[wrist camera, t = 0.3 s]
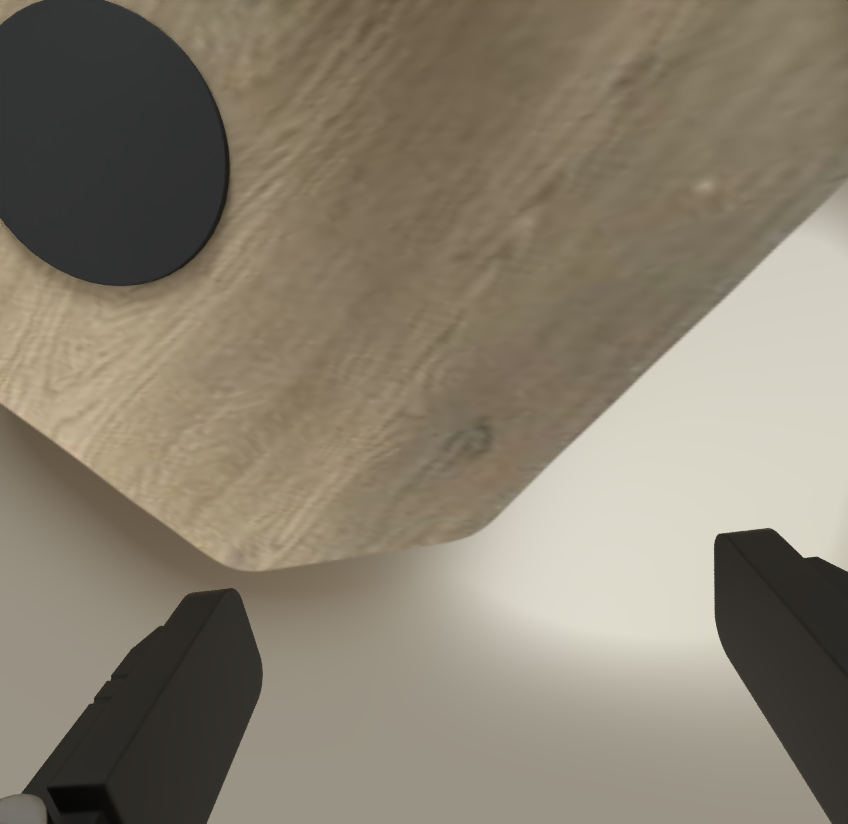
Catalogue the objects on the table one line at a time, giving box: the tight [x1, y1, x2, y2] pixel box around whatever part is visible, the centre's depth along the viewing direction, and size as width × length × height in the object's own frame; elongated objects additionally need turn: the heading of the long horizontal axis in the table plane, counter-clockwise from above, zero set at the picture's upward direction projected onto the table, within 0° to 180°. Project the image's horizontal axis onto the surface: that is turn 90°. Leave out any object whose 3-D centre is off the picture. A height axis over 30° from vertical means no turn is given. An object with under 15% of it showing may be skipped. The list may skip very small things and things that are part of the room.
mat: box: [0, 0, 229, 286], centre depth 34 cm, size 16×16×1 cm
